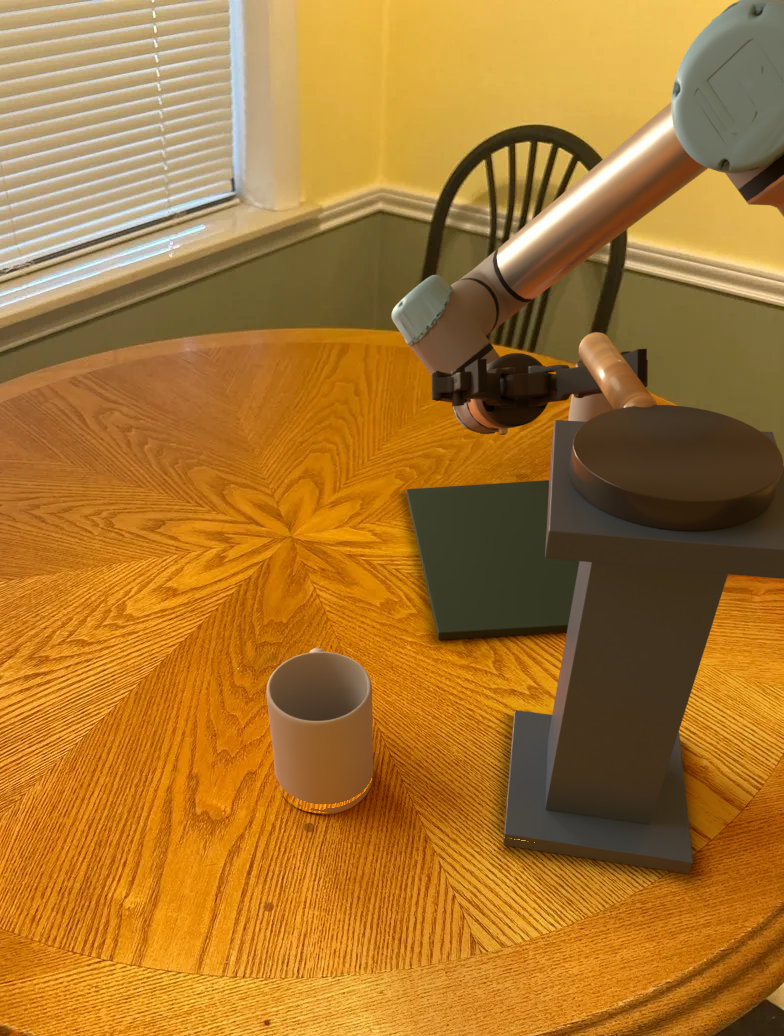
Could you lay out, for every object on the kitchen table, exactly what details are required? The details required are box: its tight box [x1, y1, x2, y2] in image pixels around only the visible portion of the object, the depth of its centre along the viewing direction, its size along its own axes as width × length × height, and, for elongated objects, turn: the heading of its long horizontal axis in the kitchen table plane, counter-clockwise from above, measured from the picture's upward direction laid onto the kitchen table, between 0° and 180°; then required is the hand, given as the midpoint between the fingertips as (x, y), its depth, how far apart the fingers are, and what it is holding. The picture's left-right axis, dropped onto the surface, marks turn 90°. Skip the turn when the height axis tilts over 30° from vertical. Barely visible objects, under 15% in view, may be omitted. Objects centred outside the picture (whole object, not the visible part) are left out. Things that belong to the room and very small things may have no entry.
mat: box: [405, 479, 579, 641], centre depth 101 cm, size 28×18×1 cm, turn 2°
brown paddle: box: [569, 331, 784, 531], centre depth 59 cm, size 24×12×2 cm, turn 2°
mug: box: [266, 647, 375, 815], centre depth 75 cm, size 12×8×11 cm
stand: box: [502, 419, 784, 875], centre depth 65 cm, size 14×14×30 cm
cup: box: [567, 352, 621, 422], centre depth 117 cm, size 8×8×10 cm
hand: (562, 370), depth 76 cm, fingers open, 13 cm apart
